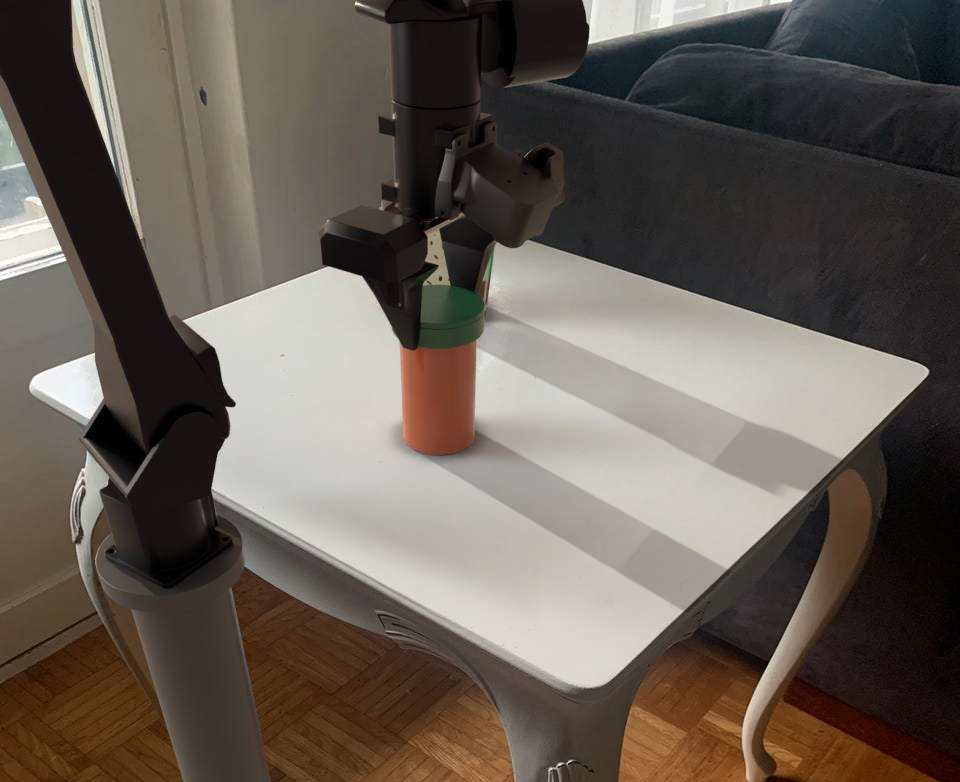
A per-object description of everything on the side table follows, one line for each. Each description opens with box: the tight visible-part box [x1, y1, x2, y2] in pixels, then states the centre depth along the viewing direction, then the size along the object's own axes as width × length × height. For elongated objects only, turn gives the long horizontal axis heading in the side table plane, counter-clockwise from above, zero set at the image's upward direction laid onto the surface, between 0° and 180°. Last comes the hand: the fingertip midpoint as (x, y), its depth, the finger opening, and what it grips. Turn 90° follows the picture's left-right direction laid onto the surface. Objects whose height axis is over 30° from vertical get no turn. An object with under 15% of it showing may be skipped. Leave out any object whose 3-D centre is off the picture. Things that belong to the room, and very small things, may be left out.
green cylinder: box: [391, 285, 486, 349], centre depth 70 cm, size 7×7×2 cm
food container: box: [378, 199, 496, 320], centre depth 93 cm, size 12×6×10 cm, turn 71°
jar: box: [399, 339, 478, 456], centre depth 73 cm, size 6×6×11 cm
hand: (437, 331), depth 71 cm, fingers closed on green cylinder, 7 cm apart
